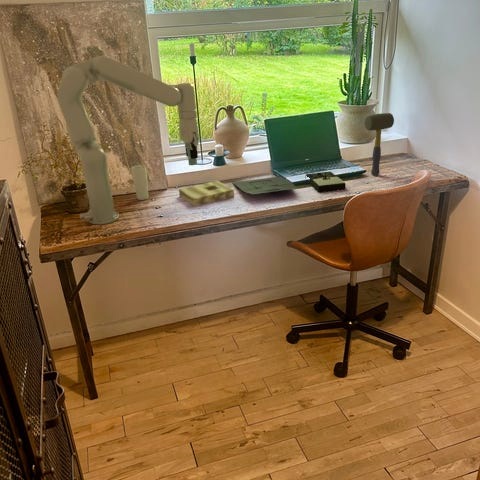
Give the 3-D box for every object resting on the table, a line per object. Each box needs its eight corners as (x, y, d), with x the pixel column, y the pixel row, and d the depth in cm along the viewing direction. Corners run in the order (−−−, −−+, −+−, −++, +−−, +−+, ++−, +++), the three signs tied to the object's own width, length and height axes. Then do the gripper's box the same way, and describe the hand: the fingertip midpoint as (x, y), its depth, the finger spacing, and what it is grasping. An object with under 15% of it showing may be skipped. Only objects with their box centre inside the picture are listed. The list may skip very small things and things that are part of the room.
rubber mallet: (368, 179, 230) (372, 116, 217) (359, 175, 237) (363, 113, 224) (390, 175, 234) (396, 113, 221) (381, 171, 240) (386, 111, 227)
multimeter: (330, 178, 236) (330, 168, 234) (345, 190, 219) (346, 180, 217) (305, 181, 234) (305, 171, 232) (318, 193, 217) (318, 183, 215)
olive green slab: (194, 206, 208) (193, 199, 207) (179, 196, 221) (178, 189, 219) (234, 196, 217) (233, 189, 215) (217, 187, 230) (217, 180, 228)
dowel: (190, 165, 206) (187, 138, 201) (187, 164, 209) (184, 136, 204) (198, 164, 208) (195, 136, 202) (195, 162, 211) (192, 135, 205)
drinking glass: (136, 201, 217) (131, 170, 211) (135, 197, 223) (130, 166, 216) (151, 199, 218) (146, 168, 212) (149, 195, 224) (145, 164, 218)
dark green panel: (247, 201, 208) (247, 192, 207) (232, 187, 236) (231, 180, 235) (300, 193, 213) (300, 186, 212) (279, 181, 241) (278, 174, 240)
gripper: (171, 113, 204) (176, 154, 212) (187, 118, 191) (192, 163, 199) (187, 110, 207) (192, 151, 215) (204, 115, 194) (208, 159, 202)
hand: (192, 156), depth 207 cm, fingers closed on dowel, 3 cm apart
